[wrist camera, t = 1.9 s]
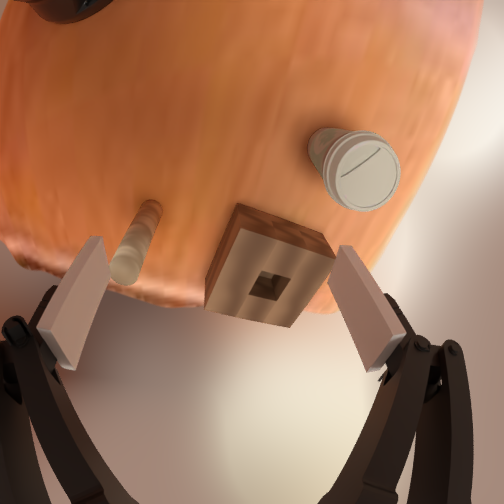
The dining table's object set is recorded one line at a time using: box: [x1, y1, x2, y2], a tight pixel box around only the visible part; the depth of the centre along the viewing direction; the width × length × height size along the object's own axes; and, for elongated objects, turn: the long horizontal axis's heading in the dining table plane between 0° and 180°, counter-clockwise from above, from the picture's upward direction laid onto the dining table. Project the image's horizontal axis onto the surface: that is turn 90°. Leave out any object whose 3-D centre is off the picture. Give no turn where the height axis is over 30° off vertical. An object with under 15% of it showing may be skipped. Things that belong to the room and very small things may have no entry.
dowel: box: [109, 200, 162, 286], centre depth 30 cm, size 3×3×14 cm
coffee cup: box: [307, 128, 400, 212], centre depth 28 cm, size 9×8×12 cm
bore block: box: [204, 203, 336, 328], centre depth 39 cm, size 14×14×7 cm
